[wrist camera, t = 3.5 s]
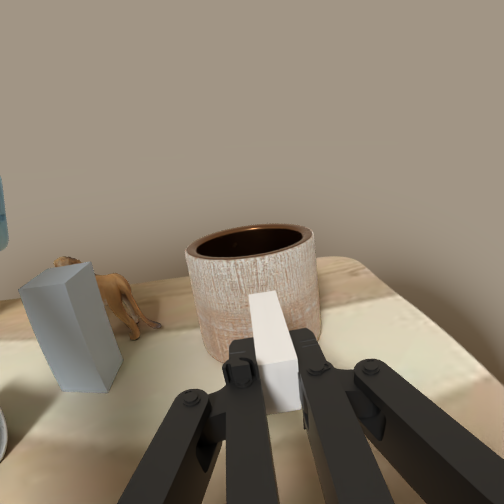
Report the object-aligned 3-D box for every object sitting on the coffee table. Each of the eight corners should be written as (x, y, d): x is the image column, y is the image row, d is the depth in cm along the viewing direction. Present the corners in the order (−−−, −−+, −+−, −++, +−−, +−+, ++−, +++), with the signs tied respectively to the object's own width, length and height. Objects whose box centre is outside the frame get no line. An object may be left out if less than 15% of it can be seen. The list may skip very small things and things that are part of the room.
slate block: (107, 392, 22) (64, 283, 19) (62, 391, 22) (18, 289, 19) (123, 359, 27) (91, 261, 24) (81, 361, 27) (47, 268, 24)
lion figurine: (59, 331, 34) (37, 265, 31) (83, 313, 38) (65, 251, 36) (151, 343, 30) (127, 259, 27) (173, 318, 35) (155, 242, 32)
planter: (343, 327, 28) (340, 227, 26) (261, 392, 22) (241, 271, 19) (263, 301, 36) (252, 219, 33) (183, 343, 29) (160, 249, 27)
